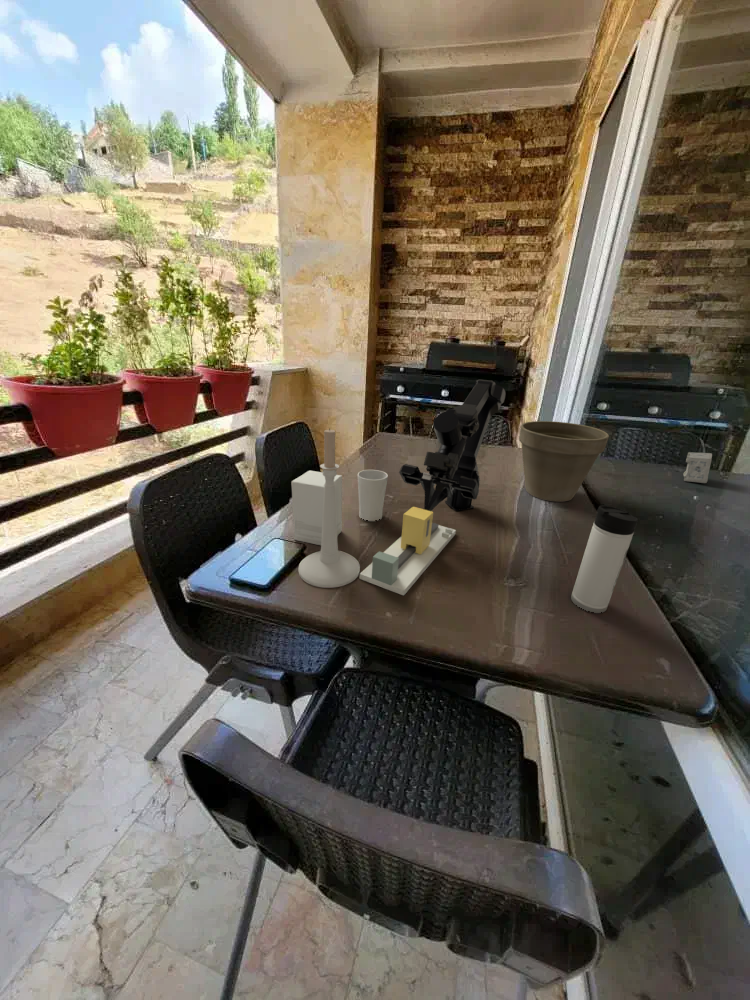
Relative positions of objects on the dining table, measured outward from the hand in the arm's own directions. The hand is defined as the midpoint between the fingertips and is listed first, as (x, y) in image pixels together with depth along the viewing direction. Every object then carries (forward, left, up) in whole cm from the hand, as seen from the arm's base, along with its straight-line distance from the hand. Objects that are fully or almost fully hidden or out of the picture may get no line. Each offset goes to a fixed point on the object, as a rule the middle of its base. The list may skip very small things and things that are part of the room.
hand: (426, 512), depth 90 cm
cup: (+7, -18, -8) cm, 21 cm away
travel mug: (-21, +29, -8) cm, 37 cm away
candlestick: (+24, +4, -8) cm, 26 cm away
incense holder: (-124, -17, -9) cm, 125 cm away
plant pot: (-56, -19, -8) cm, 59 cm away
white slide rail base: (+4, +4, -8) cm, 10 cm away
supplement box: (+23, -11, -8) cm, 27 cm away
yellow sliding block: (+4, +3, -7) cm, 8 cm away
